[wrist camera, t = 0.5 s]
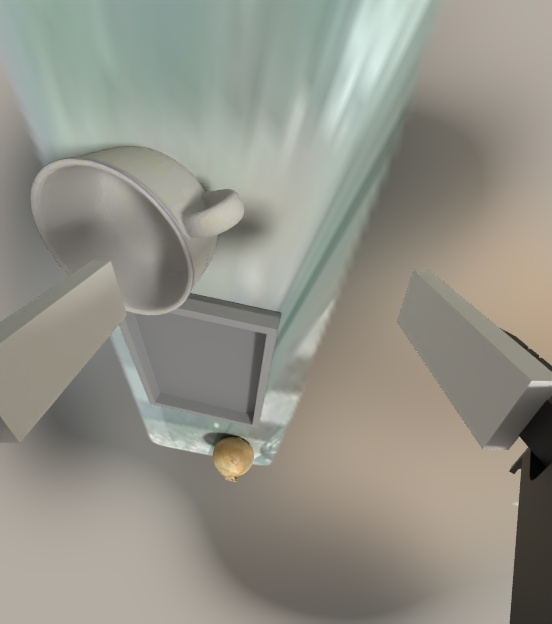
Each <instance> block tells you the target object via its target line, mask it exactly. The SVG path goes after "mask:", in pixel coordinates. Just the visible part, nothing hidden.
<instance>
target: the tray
mask: <svg viewBox="0 0 552 624" xmlns="http://www.w3.org/2000/svg"><path fill="white" fill-rule="evenodd" d="M126 314H127V315H126V317H125V318H124V319H123V320H122V321H121V323H120V324H119V325H120V328H121V331H122V333H123V336H124V338H125V341H126V343H127V346H128V348H129V351H130V354H131V356H132V359H133V361H134V364H135V366H136V369H137V371H138V374H139V376H140V379H141V382H142V384H143V387H144V389H145V392H146V394H147V397H148V399H149V402H150V404H153V405H157V406H161V407H166V408H170V409H174V410H179V411H183V412H187V413H192V414H196V415H200V416H205V417H209V418H213V419H217V420H222V421H226V422H230V423H235V424H239V425H243V426H248V427H252V428H256V429H258V427H259V422H260V418H261V413H262V408H263V403H264V398H265V393H266V388H267V383H268V378H269V373H270V368H271V363H272V358H273V353H274V348H275V343H276V338H277V333H278V328H279V323H280V318H281V313H280V312H275V311H270V310H266V309H261V308H256V307H252V306H247V305H242V304H238V303H233V302H228V301H224V300H219V299H215V298H210V297H205V296H201V295H196V294H191V293H190V295H189V296H188V298H187V299H186V301H185V302H184V303H183V304H182V305H181V306H180V307H178V308H176V309H175V310H172V311H171V312H168V313H165V314H161V315H142V314H136V313H132V312H128V311H126Z"/></svg>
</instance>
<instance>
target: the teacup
mask: <svg viewBox="0 0 552 624" xmlns="http://www.w3.org/2000/svg"><path fill="white" fill-rule="evenodd" d="M30 202H31V210H32V215H33V218H34V222H35V224H36V227H37V229H38V232H39V234H40V236H41V238H42V239H43V241H44V243H45V245H46V247H47V248H48V250H49V251H50V252H51V253H52V255H53V257H54V259H55V260H56V262H57V263H58V264H59V266H60V267H62V268H63V269H64V270H65V271H66V272H67V273H68V274H69V275H71V274H73V273H74V272H76V271H77V270H79V269H80V268H82V267H83V266H85V265H86V264H88V263H89V262H91V261H92V260H100V261H111V263H112V266H113V270H114V273H115V277H116V280H117V283H118V287H119V290H120V294H121V297H122V301H123V304H124V307H125V311H128V312H132V313H136V314H142V315H161V314H165V313H168V312H171V311H172V310H175V309H176V308H178V307H180V306H181V305H182V304H183V303H184V302H185V301H186V299H187V298H188V296H189V295H190V293H191V291H192V288H193V287H194V285H195V284H196V283H197V281H198V280H199V279H200V277H201V276H202V274H203V273H204V271H205V270H206V268H207V266H208V265H209V263H210V261H211V259H212V257H213V255H214V252H215V249H216V245H217V239H218V234H220V233H223V232H225V231H227V230H229V229H230V228H232V227H233V226H235V225H236V224H237V223H238V222H239V221H240V220H241V219H242V218H243V215H244V205H243V203H242V201H241V199H240V197H239V195H238V194H237V192H235V191H234V190H231V189H224V190H217V191H205V190H204V188H203V187H202V186H201V184H200V183H199V182H198V180H197V179H196V178H195V177H194V176H193V175H192V174H191V173H190V172H189V171H188V170H187V169H186V168H185V167H183V166H182V165H181V164H180V163H178V162H177V161H176V160H174V159H172V158H170V157H169V156H167V155H165V154H162V153H160V152H157V151H155V150H152V149H148V148H142V147H118V148H112V149H107V150H103V151H99V152H95V153H91V154H87V155H84V156H80V157H77V158H65V159H61V160H57V161H54V162H51V163H49V164H48V165H46V166H45V167H43V168H42V170H41V171H40V172H39V173H38V174H37V176H36V177H35V179H34V181H33V185H32V189H31V196H30Z"/></svg>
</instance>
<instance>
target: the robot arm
mask: <svg viewBox="0 0 552 624" xmlns="http://www.w3.org/2000/svg"><path fill="white" fill-rule="evenodd" d="M126 315H127V314H126V311H125V307H124V304H123V301H122V297H121V294H120V290H119V287H118V283H117V280H116V277H115V273H114V270H113V266H112V263H111V261H100V260H92V261H91V262H89V263H88V264H86V265H85V266H83V267H82V268H80V269H79V270H77V271H76V272H74V273H73V274H71V275H70V276H69V277H67V278H65V279H64V280H62V281H61V282H59V283H58V284H56V285H55V286H53V287H52V288H50V289H49V290H47V291H46V292H45V293H43V294H41V295H40V296H39V297H37V298H36V299H34V300H33V301H31V302H30V303H28V304H27V305H25V306H24V307H22V308H21V309H19V310H18V311H16V312H15V313H13V314H12V315H10V316H9V317H7V318H6V319H4V320H3V321H1V322H0V442H4V443H5V442H7V443H20V442H21V441H22V440H23V438H24V437H25V436H26V435H27V434H28V432H29V431H30V430H31V429H32V428H33V426H34V425H35V424H36V423H37V422H38V420H39V419H40V418H41V417H42V416H43V415H44V413H45V412H46V411H47V410H48V409H49V407H50V406H51V405H52V404H53V403H54V401H55V400H56V399H57V398H58V397H59V395H60V394H61V393H62V392H63V391H64V389H65V388H66V387H67V386H68V385H69V383H70V382H71V381H72V380H73V379H74V377H75V376H76V375H77V374H78V373H79V372H80V370H81V369H82V368H83V367H84V366H85V364H86V363H87V362H88V361H89V360H90V358H91V357H92V356H93V355H94V353H95V352H96V351H97V350H98V349H99V348H100V346H101V345H102V344H103V343H104V342H105V340H106V339H107V338H108V337H109V336H110V335H111V333H112V332H113V331H114V330H115V329H116V327H117V326H118V325H119V324H120V323H121V321H122V320H123V319H124V318H125V317H126ZM397 323H398V324H399V326H400V327H401V329H402V330H403V332H404V333H405V335H406V336H407V338H408V339H409V341H410V342H411V344H412V345H413V347H414V348H415V350H416V351H417V353H418V354H419V356H420V357H421V359H422V360H423V361H424V363H425V364H426V366H427V367H428V369H429V370H430V372H431V373H432V375H433V376H434V378H435V379H436V381H437V382H438V384H439V385H440V387H441V388H442V390H443V391H444V393H445V394H446V396H447V397H448V399H449V400H450V401H451V403H452V405H453V406H454V407H455V409H456V411H457V412H458V413H459V415H460V416H461V418H462V419H463V421H464V422H465V424H466V425H467V427H468V428H469V430H470V431H471V433H472V434H473V436H474V437H475V439H476V440H477V442H478V443H479V444H480V446H481V448H482V449H491V450H492V449H493V450H495V449H496V450H509V449H510V447H511V446H512V445H513V444H514V442H515V441H516V440H517V439H518V437H519V436H520V437H521V439H522V440H523V441H524V442H525V443H526V444H527V446H528V448H527V449H526V451H525V452H524V453H523V454H522V455H521V456H520V458H519V459H518V460H517V461H516V462H515V464H514V465H513V466H512V468H511V469H510V472H511V473H513V474H515V472H516V471H517V470H518V469H521V482H520V494H519V508H518V521H517V535H516V547H515V560H514V561H515V562H514V574H513V587H512V600H511V601H512V602H511V614H510V624H552V366H551V365H550V364H549V363H547V362H546V361H545V360H544V359H543V358H539V355H538V354H536V353H535V352H534V351H533V350H532V349H528V346H527V345H525V344H524V343H523V342H522V341H520V340H519V339H518V338H517V337H516V336H514V335H512V334H510V333H508V332H506V331H504V330H503V329H501V328H499V327H498V326H496V325H495V324H494V323H493V322H492V321H490V320H489V319H488V318H487V317H486V316H485V315H483V314H482V313H481V312H480V311H479V310H477V309H476V308H475V307H474V306H473V305H471V304H470V303H469V302H468V301H467V300H465V299H464V298H463V297H462V296H460V295H459V294H458V293H457V292H456V291H455V290H453V289H452V288H451V287H450V286H449V285H447V284H446V283H445V282H444V281H443V280H441V279H440V278H439V277H438V276H437V275H435V274H434V273H433V272H432V271H431V270H413V272H412V275H411V278H410V281H409V285H408V288H407V291H406V295H405V297H404V301H403V304H402V307H401V310H400V314H399V316H398V320H397Z"/></svg>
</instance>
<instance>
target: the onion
mask: <svg viewBox="0 0 552 624" xmlns="http://www.w3.org/2000/svg"><path fill="white" fill-rule="evenodd" d="M253 459H254V454H253V449H252V447H251V446H250V445H249V444H248V443H247V442H246V441H245V440H242V439H241V438H240V437H227V438H224V439H222V440H221V441H219V442H218V443H217V444H216V446H215V448H214V451H213V461H214V465H215V466H216V468H217V469H218V471H219V472H220V473H221V474H222V475H223V476H224V477H225V480H229V481H232V482H234V481H235V482H236V483H237V481H236V480H238V478H236V477H238V476H240V475H242V474H244V473H246V472H247V471H248V470H249V468H250V467H251V465H252V463H253Z"/></svg>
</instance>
